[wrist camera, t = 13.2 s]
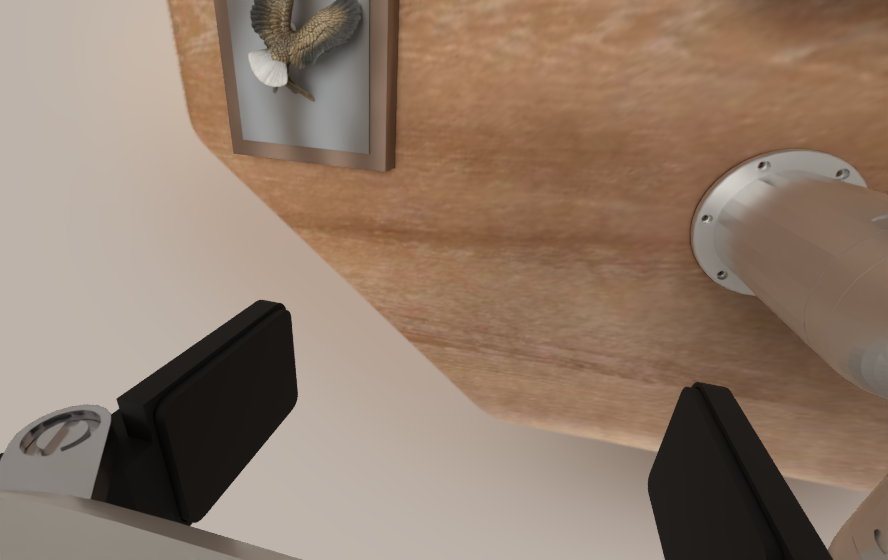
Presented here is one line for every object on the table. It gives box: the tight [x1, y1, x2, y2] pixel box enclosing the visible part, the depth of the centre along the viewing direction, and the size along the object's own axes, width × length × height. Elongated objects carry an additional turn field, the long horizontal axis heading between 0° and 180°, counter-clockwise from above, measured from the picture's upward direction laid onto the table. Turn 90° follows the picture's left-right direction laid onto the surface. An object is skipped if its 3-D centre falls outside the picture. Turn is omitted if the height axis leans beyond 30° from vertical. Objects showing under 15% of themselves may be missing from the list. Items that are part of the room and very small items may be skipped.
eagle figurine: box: [248, 0, 361, 102], centre depth 33 cm, size 8×7×9 cm
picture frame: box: [214, 0, 399, 172], centre depth 38 cm, size 16×18×3 cm
